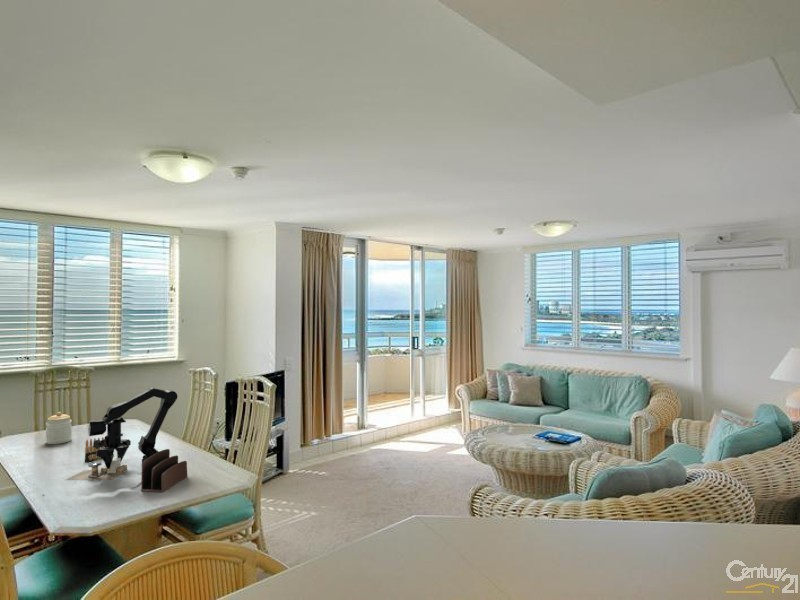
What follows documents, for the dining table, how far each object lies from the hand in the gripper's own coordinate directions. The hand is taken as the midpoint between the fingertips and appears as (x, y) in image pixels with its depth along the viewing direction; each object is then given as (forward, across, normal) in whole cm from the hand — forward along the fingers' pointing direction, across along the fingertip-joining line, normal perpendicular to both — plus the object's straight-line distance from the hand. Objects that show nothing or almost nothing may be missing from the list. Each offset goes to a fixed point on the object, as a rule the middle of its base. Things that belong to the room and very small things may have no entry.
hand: (114, 465), depth 235 cm
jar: (+5, -60, -68) cm, 91 cm away
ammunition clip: (+5, -22, -22) cm, 31 cm away
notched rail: (+3, 0, 0) cm, 3 cm away
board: (+4, +4, -6) cm, 8 cm away
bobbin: (+3, +6, -6) cm, 8 cm away
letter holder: (+5, +12, +30) cm, 33 cm away
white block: (+3, 0, 0) cm, 3 cm away
